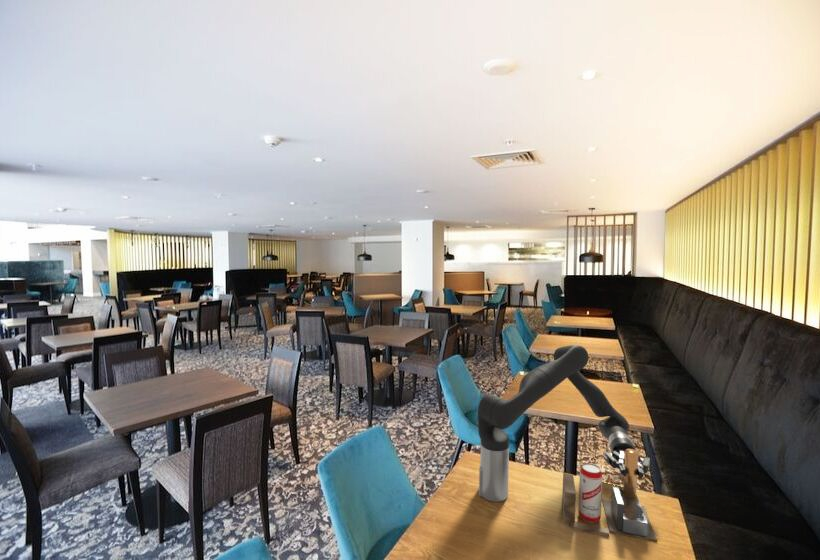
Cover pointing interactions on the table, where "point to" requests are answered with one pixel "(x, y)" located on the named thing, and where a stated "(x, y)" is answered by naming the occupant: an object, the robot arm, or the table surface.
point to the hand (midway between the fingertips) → (632, 474)
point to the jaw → (628, 500)
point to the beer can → (590, 493)
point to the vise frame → (570, 503)
